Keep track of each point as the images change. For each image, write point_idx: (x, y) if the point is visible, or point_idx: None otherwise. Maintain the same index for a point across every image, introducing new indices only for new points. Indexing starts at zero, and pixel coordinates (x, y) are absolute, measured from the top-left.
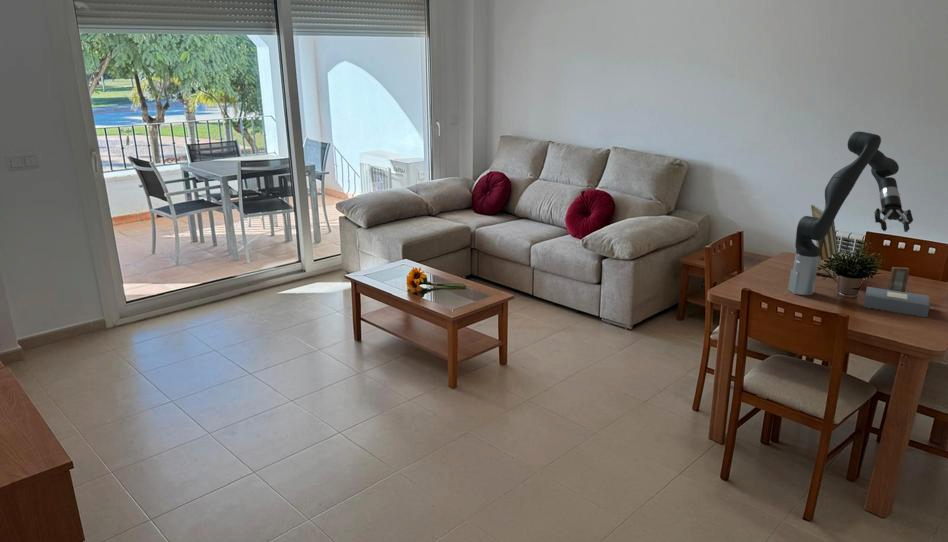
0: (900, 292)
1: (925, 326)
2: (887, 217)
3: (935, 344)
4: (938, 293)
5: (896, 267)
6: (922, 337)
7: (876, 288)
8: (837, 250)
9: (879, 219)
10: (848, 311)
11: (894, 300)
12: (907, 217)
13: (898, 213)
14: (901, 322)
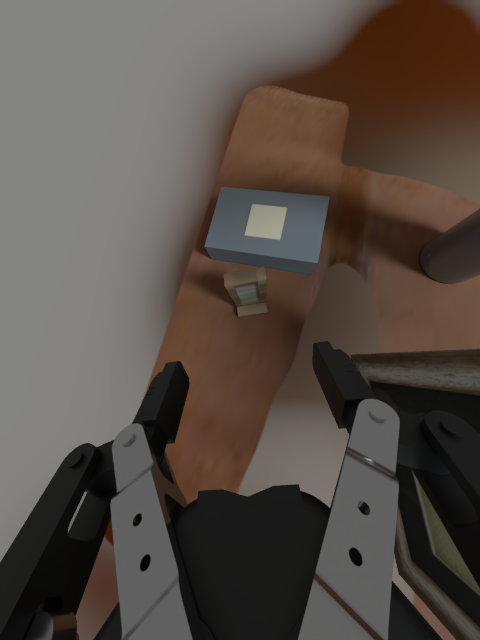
0: (253, 246)
1: (240, 164)
2: (348, 451)
3: (247, 104)
4: (159, 360)
5: (255, 278)
6: (257, 120)
7: (298, 256)
8: (463, 350)
9: (432, 414)
10: (351, 182)
11: (277, 192)
12: (78, 555)
13: (178, 576)
14: (272, 166)
